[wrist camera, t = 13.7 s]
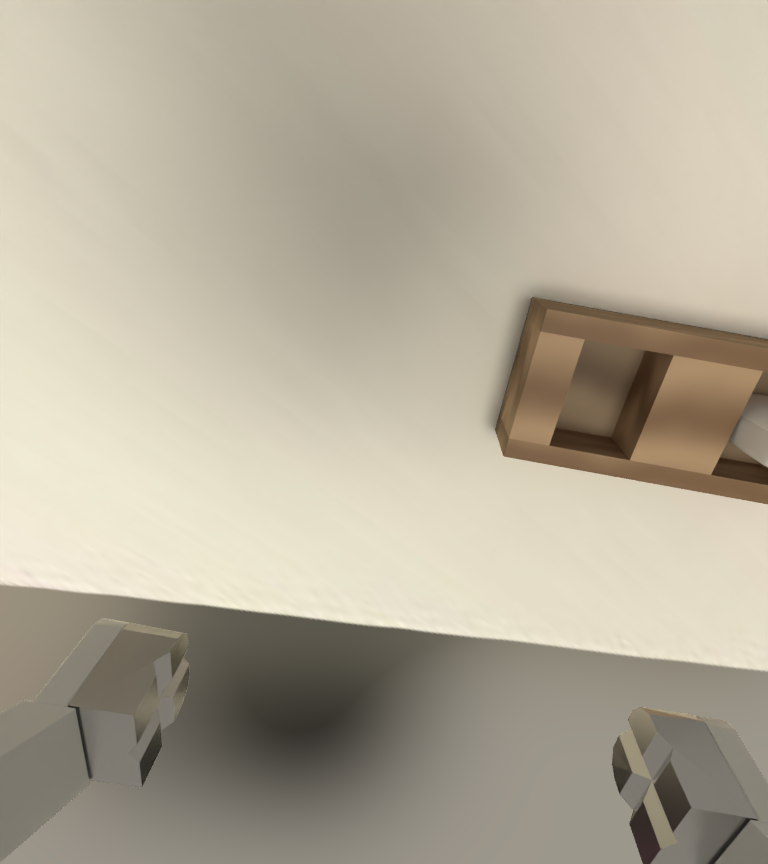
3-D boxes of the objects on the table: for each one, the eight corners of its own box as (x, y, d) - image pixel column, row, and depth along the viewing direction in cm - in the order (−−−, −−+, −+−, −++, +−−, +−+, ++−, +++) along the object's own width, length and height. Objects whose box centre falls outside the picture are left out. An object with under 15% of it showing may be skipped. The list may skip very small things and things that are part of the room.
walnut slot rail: (532, 297, 37) (547, 309, 32) (850, 354, 36) (911, 374, 32) (495, 429, 41) (503, 456, 37) (778, 480, 41) (822, 514, 36)
